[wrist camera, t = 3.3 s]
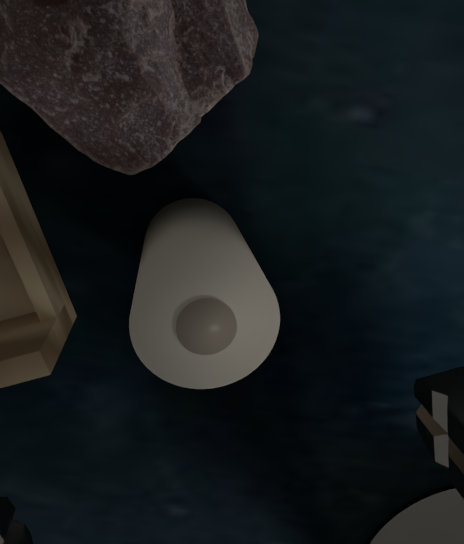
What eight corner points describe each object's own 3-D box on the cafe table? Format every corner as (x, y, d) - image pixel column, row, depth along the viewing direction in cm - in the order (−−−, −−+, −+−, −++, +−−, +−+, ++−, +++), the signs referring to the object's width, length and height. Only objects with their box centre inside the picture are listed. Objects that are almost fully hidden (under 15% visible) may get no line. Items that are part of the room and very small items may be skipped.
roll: (248, 276, 24) (292, 370, 15) (159, 299, 23) (154, 408, 15) (228, 187, 22) (265, 238, 13) (131, 211, 22) (106, 279, 13)
